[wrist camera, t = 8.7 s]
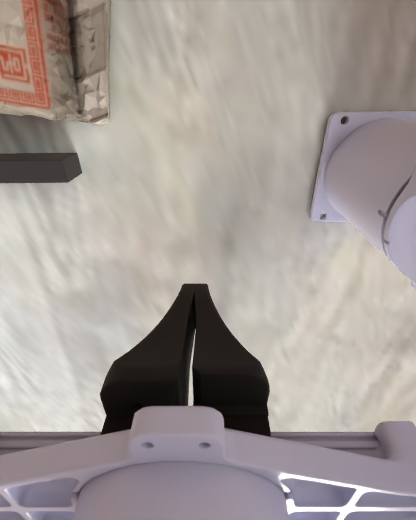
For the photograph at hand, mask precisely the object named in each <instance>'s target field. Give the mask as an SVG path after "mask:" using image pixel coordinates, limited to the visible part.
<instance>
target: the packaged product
mask: <svg viewBox="0 0 416 520" xmlns="http://www.w3.org/2000/svg"><path fill="white" fill-rule="evenodd" d="M110 10H111V0H0V113H3V114H11V115H18V116H24V115H34V116H39V117H43V118H46V119H49V120H52V121H54V120H64V119H69V120H75V121H81V122H87V123H93V124H99V125H104V124H106V123H108V122H110V94H109V52H110Z"/></svg>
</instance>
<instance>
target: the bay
mask: <svg viewBox="0 0 416 520" xmlns="http://www.w3.org/2000/svg"><path fill="white" fill-rule="evenodd" d="M81 173H82V171H81V167H80V163H79V159H78V155H77V153H21V154H0V183H62V182H69V181H71V180H72V179H74V178H75V177H77V176H78V175H80V174H81Z"/></svg>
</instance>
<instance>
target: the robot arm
mask: <svg viewBox="0 0 416 520" xmlns="http://www.w3.org/2000/svg"><path fill="white" fill-rule="evenodd" d="M344 116H345V117H346V121H345V123H344V124H341V119H342V118H343V117H344ZM321 214H325V215H324V216H323V217H321V218H320V215H321ZM309 217H310V219H311V220H312V221H313V222H349V223H350V224H351V225H353V226H354V227H355V228H356V229H357V230H358V231H359V232H360V233H361V234H362V235H363V236H364V237H365V238H366V239H367V240H368V241H369V242H371V243H372V244H373V245H374V246H375V247H376V248H377V249H378V250H379V251H380V252H381V253H382V254H383V255H384V256H385V257H386V258H387V259H389V260H390V261H391V262H392V263H393V264H394V265H395V266H396V267H397V268H398V269H399V270H400V271H401V272H402V273H403V274H405V275H406V276H407V277H408V278H410V281H411V286H412V287H413V288H414V289H415V290H416V111H369V112H334V113H333V114H331V115H330V117H329V119H328V123H327V128H326V133H325V138H324V143H323V148H322V153H321V158H320V163H319V168H318V174H317V179H316V184H315V189H314V194H313V199H312V204H311V209H310V214H309ZM195 328H196V334H195ZM194 334H195V346H194V356H193V365H192V373H193V396H194V401H193V406H188V393H189V372H190V361H191V354H192V348H193V341H194ZM269 392H270V389H269V382H268V379H267V377H266V374H265V372H264V369H263V367H262V365H261V363H260V361H258V360H257V359H256V358H255V357H254V356H252V355H251V354H250V353H249V352H248V351H247V350H246V349H245V348H244V347H243V346H242V345H241V344H240V343H239V341H238V340H237V339H236V338H235V337H234V336H233V335H232V333H231V332H230V331H229V329H228V328H227V326H226V325H225V323H224V322H223V320H222V319H221V317H220V315H219V313H218V311H217V310H216V307H215V305H214V303H213V301H212V298H211V296H210V293H209V289H208V285H207V284H183V285H182V288H181V290H180V292H179V294H178V296H177V298H176V300H175V301H174V303H173V305H172V306H171V308H170V309H169V311H168V312H167V313H166V315H165V316H164V318H163V319H162V320H161V321H160V323H159V324H158V325H157V326H156V327H155V328H154V329H153V330H152V331H151V332H150V333H149V334H148V335H147V336H146V337H145V338H144V339H143V340H142V341H141V342H140V343H139V344H137V345H136V346H135V347H134V348H133V349H131V350H130V351H129V352H127V353H126V354H124V355H123V356H121V357H120V358H118V359H117V360H115V361H114V362H113V364H112V366H111V368H110V370H109V372H108V374H107V376H106V378H105V381H104V384H103V387H102V390H101V393H100V397H101V401H102V404H103V407H104V410H105V412H106V415H107V416H106V419H105V422H104V426H103V429H102V432H0V520H416V427H415V425H414V424H413V422H410V421H386V422H382V423H379V424H378V425H377V427H376V429H375V431H374V432H270V427H269V421H268V408H267V401H268V396H269Z"/></svg>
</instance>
